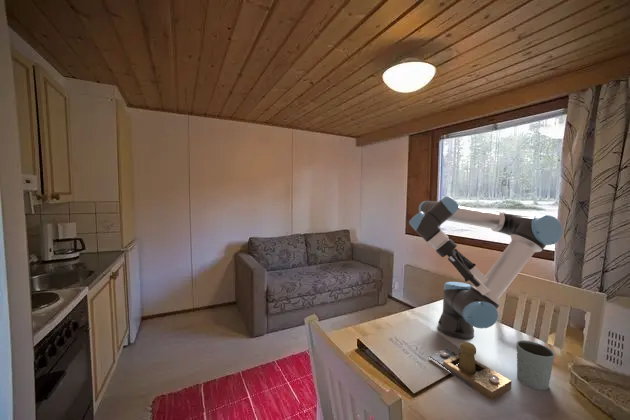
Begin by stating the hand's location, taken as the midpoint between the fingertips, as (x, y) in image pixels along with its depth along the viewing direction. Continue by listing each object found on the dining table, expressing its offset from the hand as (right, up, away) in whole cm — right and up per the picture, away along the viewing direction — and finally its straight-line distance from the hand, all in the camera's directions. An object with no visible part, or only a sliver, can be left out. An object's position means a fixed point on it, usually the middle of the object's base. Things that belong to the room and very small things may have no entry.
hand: (485, 287), depth 99 cm
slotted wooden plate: (-10, -30, -4) cm, 32 cm away
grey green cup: (+12, -31, -7) cm, 34 cm away
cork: (-10, -30, -4) cm, 32 cm away
